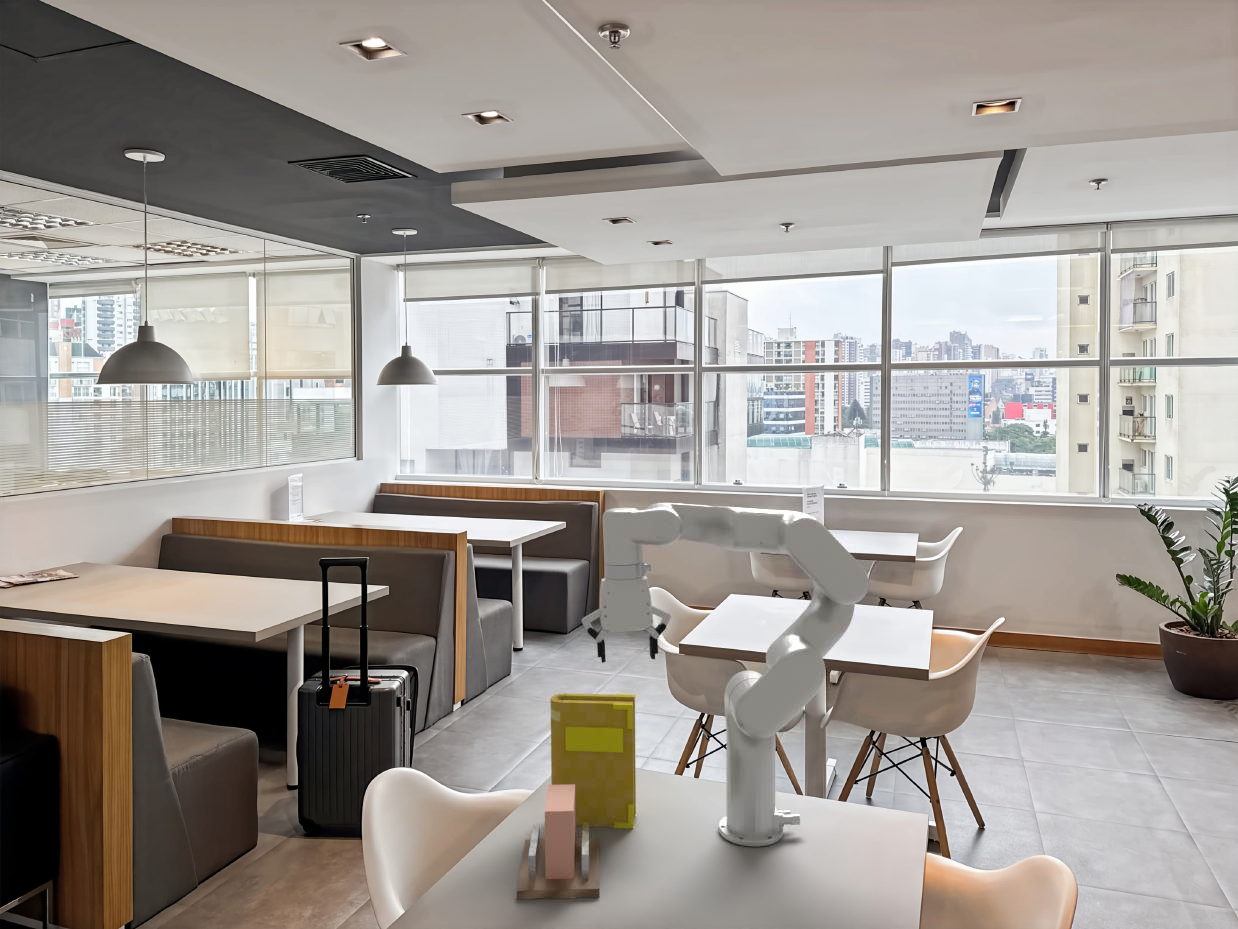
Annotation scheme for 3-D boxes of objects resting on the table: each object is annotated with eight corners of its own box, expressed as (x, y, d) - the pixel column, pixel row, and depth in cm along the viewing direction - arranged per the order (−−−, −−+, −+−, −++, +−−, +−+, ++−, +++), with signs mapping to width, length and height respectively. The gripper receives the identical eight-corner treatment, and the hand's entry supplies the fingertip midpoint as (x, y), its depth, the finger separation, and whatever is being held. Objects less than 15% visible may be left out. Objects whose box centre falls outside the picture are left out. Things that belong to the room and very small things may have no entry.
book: (636, 813, 177) (635, 694, 176) (633, 828, 171) (632, 704, 170) (555, 810, 179) (553, 692, 178) (549, 825, 172) (548, 702, 171)
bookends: (589, 845, 161) (588, 822, 161) (588, 879, 149) (588, 854, 149) (533, 846, 161) (533, 823, 160) (528, 881, 149) (528, 855, 148)
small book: (575, 847, 160) (575, 784, 160) (574, 878, 149) (573, 810, 149) (548, 847, 160) (548, 784, 160) (545, 879, 149) (544, 811, 149)
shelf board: (598, 845, 164) (598, 837, 164) (599, 897, 146) (599, 888, 146) (525, 847, 164) (525, 839, 163) (516, 899, 146) (516, 890, 145)
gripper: (666, 566, 170) (669, 651, 171) (579, 571, 169) (583, 656, 170) (671, 572, 163) (674, 661, 164) (580, 577, 162) (584, 667, 162)
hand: (628, 659), depth 167 cm, fingers open, 9 cm apart
